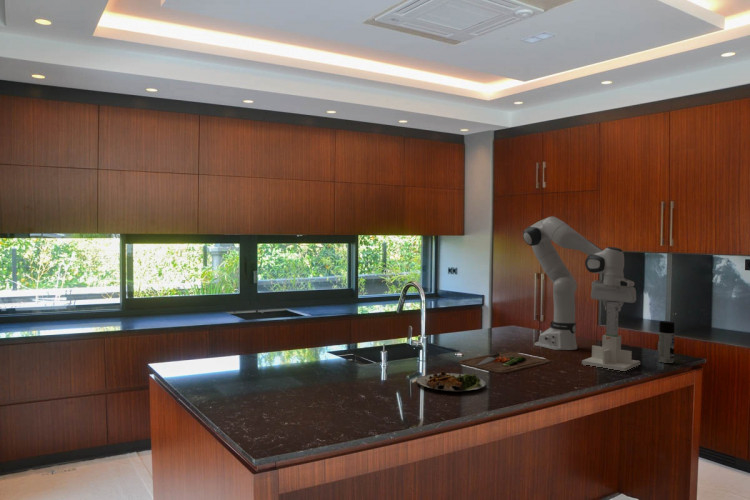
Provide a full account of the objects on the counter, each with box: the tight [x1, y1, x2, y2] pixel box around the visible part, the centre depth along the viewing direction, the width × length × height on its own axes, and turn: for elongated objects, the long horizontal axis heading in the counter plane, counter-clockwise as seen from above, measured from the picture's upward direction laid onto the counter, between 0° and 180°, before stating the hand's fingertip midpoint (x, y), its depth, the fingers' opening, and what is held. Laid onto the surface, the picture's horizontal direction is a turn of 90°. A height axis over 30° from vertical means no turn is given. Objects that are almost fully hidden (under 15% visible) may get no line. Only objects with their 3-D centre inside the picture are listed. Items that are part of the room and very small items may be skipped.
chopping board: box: [458, 351, 551, 375], centre depth 275 cm, size 45×27×3 cm, turn 130°
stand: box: [581, 334, 641, 372], centre depth 273 cm, size 20×20×14 cm
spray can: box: [658, 320, 675, 364], centre depth 280 cm, size 7×7×20 cm
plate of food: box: [416, 370, 487, 393], centre depth 233 cm, size 28×28×6 cm
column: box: [605, 301, 620, 337], centre depth 273 cm, size 4×4×18 cm
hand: (612, 310), depth 273 cm, fingers closed on column, 4 cm apart
